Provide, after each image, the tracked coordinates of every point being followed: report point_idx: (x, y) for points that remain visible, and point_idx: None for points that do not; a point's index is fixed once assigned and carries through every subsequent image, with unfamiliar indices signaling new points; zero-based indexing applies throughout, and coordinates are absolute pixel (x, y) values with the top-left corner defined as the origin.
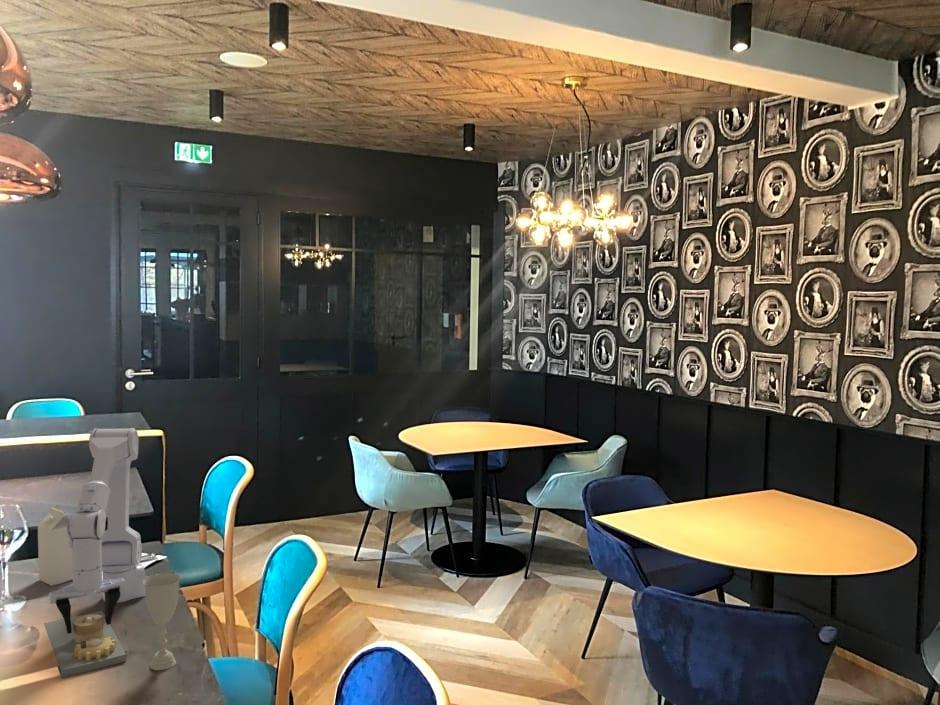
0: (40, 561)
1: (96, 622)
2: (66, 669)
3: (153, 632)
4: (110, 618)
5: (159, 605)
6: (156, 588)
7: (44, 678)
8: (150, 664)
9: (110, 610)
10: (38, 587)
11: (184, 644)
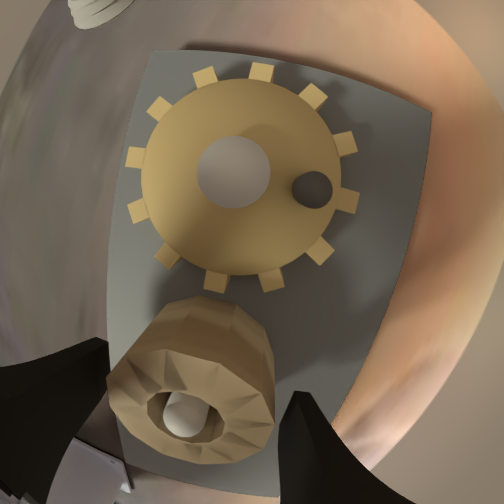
0: None
1: (149, 359)
2: (413, 104)
3: (24, 248)
4: (74, 347)
5: None
6: None
7: (453, 172)
8: (129, 2)
9: (41, 370)
10: None
11: (13, 96)
